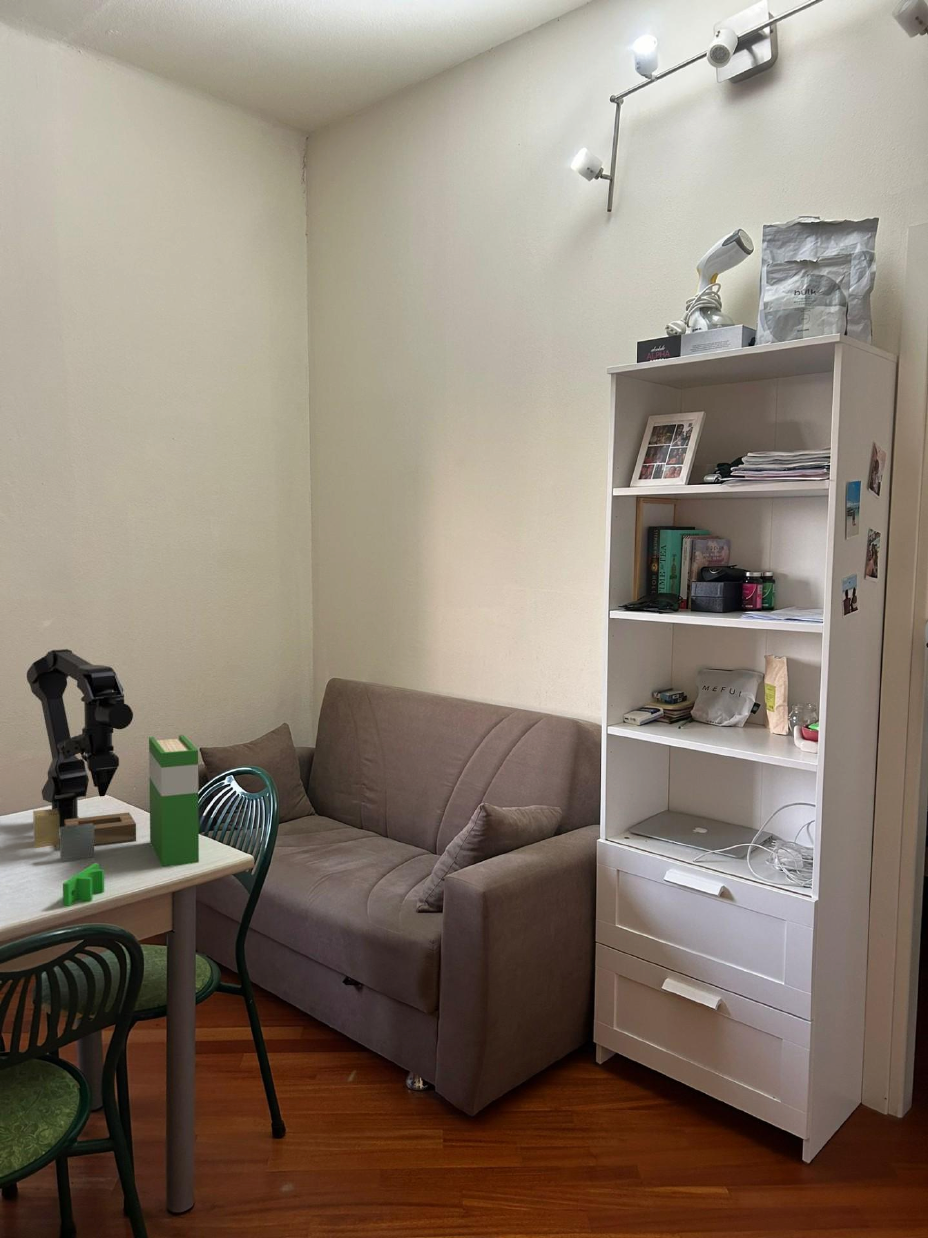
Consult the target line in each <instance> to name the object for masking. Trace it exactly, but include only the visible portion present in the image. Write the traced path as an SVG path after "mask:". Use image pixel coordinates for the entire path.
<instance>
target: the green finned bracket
mask: <svg viewBox="0 0 928 1238" xmlns="http://www.w3.org/2000/svg"><path fill="white" fill-rule="evenodd" d="M104 892H105V869H100V864H99V863H92V864H91V865H89V866H88V867H86V868H84V869H83V870H81V871H80V872H78V873H76V875H73V876H72V877H71V878H69V879H68V880H66V881H64V882H63V883H62V907H63V906H66V907H65V908H70V907H71V906H72V905H74V904H75V903H76V901H77V902H89V903H90V902H92V901H93V895H95V894H103V893H104Z"/></svg>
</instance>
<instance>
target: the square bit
mask: <svg viewBox="0 0 928 1238" xmlns="http://www.w3.org/2000/svg"><path fill="white" fill-rule="evenodd" d="M32 817H33V818H32V820H33V821H32V823H33V829H32V830H33V844H34V848H35V849H39V848H45V847H46V848H47V847H52V846H54V847H55V846H60V822H59V812H58V809H52V808H49V809H42V810H39V809H38V810H32Z"/></svg>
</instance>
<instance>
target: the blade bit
mask: <svg viewBox="0 0 928 1238" xmlns="http://www.w3.org/2000/svg"><path fill="white" fill-rule="evenodd" d="M59 847H60V849H59V852H60V854H59V855H60V857H59V858H60V862H61V863H62V864H63V863H68V862H70V863H71V862H76V861H85V860H90V859H91V860H94V859H96V858H95V857H96V855H95V846H94V825H93V823H89V824H81V825H72V826H64V827H60V845H59Z"/></svg>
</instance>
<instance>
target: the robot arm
mask: <svg viewBox="0 0 928 1238" xmlns="http://www.w3.org/2000/svg"><path fill="white" fill-rule="evenodd" d="M69 677H70V678H71V679H73V680H75V681H76V687H77V689H79V690H80V692H81V693H82V694H83V696H81V698H80V701H81V702H83V703H84V704H83V705H84V707H83V708H84V709H83V710H84V726H83V728H81V730H82V731H81V734H78V735H75V736H72V737H71V731H70V727H69V723H68V717H67V712H66V707H65V703H64V698H63V697H64V696H63V695H64V694H65V691H66V689H67V686H68V678H69ZM26 680H27V683H28V684H29V686H30V691H31V692H32V694H33V695H34V696H35V697H36V698H37V699H38V700H39V701H40V702H41V707H42V713H43V718H44V723H45V728H46V729H45V730H46V733H47V738H48V744H49V749H50V755H51V762H50V764H49V768H48V770H47V780H46V782H45V784H44V785H43V787H42V790H41V795H42V800H43V801H46V802H48V803H49V804H51V809H58V812H59V822H60V827H64V826H65V820H66V819H75V818H80V817H79V816H78V815H79V813H78V811H79V810H78V803H79V802H78V798H82V797H87V792H88V786H89V782H90V779H89V775H88V773H87V770H86V768H87V769H88V771H89V772H90V774H91V779H92V783H93V787H95V788H96V789H97V792H98V795H99V797H105V796H106V794H107V792H108V789H109V787H110V786H111V782H112V780H113V778H114V776H115V774H116V772H117V770H118V768H119V767H120V757H119V756H118V755H117V753H115V752H114V751H115V749H114V747H115V746H114V745H113V734H114V729H115V730H123V729H126V728H127V727H128V726H130V725H131V723H132V721H133V718H134V711H132V708H131V706H130V705H128V704H127V703H125V694H124V688H123V686H122V684H121V682H120V680H119V677H118V675H117V673H116V671H115V670H114V668H112V667H111V666H107V665H103V664H102V665H100V664H92V663H90V662H89V661H87V660H85V659H83V658H82V657H80V656H78V655H76V654H74V652H73V651H72V650H71V649H68V648H64V649H61V648H60V649H51V650H50V651H48V652H47V653H46V654H45V655H44V656H42V657H41V658H39V659H37V660H35V661H34V662H33V663H32V664H31V665H30V666H29V668H28V669H27V672H26ZM78 754H80V757H81V758H79V757H77V756H76V755H78ZM85 762H86V764H85ZM86 765H87V767H86Z"/></svg>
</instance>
